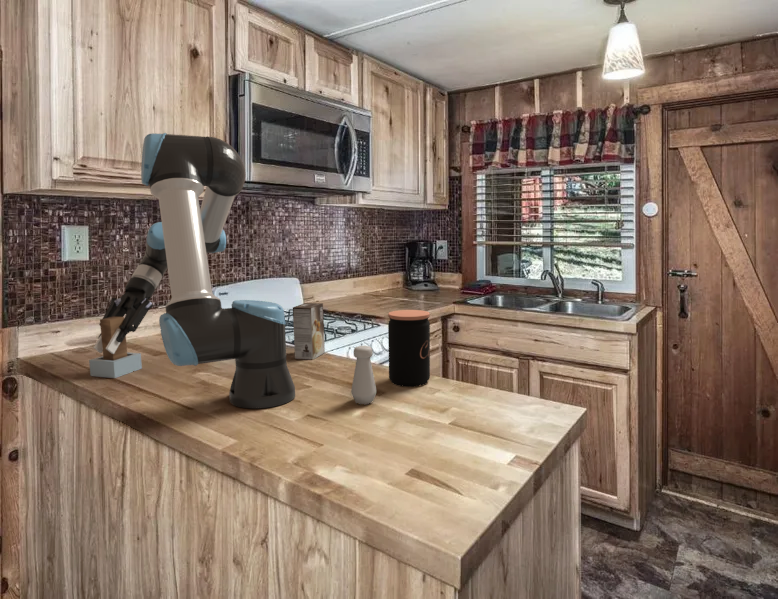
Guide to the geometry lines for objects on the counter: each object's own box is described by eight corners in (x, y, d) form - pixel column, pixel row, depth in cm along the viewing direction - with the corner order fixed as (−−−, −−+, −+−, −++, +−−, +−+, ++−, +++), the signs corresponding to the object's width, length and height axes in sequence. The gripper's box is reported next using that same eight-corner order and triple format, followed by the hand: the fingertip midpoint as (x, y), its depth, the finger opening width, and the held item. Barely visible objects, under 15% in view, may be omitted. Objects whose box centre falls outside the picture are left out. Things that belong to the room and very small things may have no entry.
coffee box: (306, 351, 170) (305, 302, 168) (325, 352, 169) (323, 303, 166) (294, 358, 162) (292, 306, 159) (313, 360, 160) (311, 307, 158)
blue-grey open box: (141, 368, 153) (140, 353, 152) (114, 378, 143) (113, 362, 143) (118, 366, 155) (117, 351, 154) (90, 375, 146) (89, 360, 145)
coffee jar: (427, 388, 131) (427, 317, 128) (385, 386, 133) (384, 316, 130) (432, 376, 141) (432, 310, 139) (393, 374, 143) (392, 309, 141)
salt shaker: (367, 407, 118) (366, 350, 116) (346, 403, 121) (345, 347, 119) (381, 400, 123) (380, 345, 121) (361, 396, 126) (359, 342, 124)
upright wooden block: (127, 358, 151) (124, 316, 149) (113, 362, 146) (110, 320, 144) (117, 357, 152) (114, 316, 150) (103, 362, 147) (99, 319, 145)
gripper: (173, 292, 158) (136, 359, 145) (128, 290, 163) (88, 355, 150) (159, 276, 152) (119, 345, 139) (113, 275, 157) (70, 341, 144)
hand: (103, 350), depth 145 cm, fingers closed on upright wooden block, 3 cm apart
